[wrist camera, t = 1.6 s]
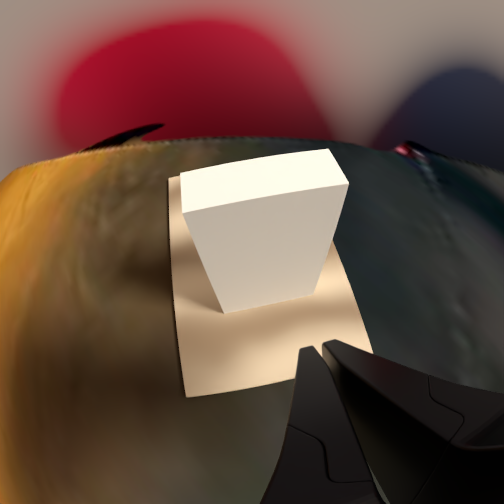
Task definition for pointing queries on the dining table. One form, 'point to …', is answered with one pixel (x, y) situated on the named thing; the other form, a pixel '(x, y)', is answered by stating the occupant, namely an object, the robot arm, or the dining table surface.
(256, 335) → the mat
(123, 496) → the dining table surface
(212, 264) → the card box
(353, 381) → the robot arm
